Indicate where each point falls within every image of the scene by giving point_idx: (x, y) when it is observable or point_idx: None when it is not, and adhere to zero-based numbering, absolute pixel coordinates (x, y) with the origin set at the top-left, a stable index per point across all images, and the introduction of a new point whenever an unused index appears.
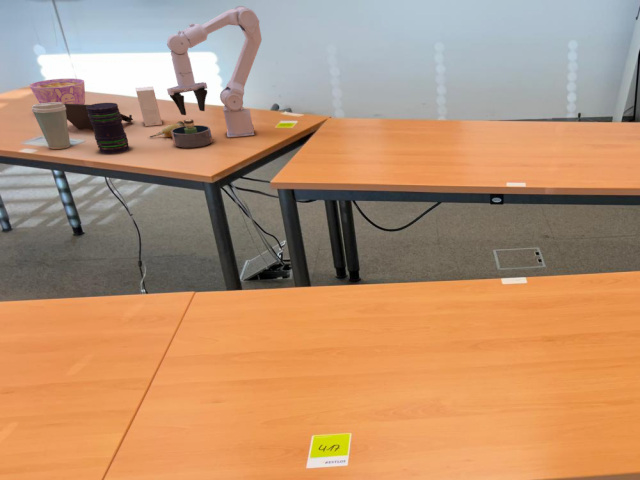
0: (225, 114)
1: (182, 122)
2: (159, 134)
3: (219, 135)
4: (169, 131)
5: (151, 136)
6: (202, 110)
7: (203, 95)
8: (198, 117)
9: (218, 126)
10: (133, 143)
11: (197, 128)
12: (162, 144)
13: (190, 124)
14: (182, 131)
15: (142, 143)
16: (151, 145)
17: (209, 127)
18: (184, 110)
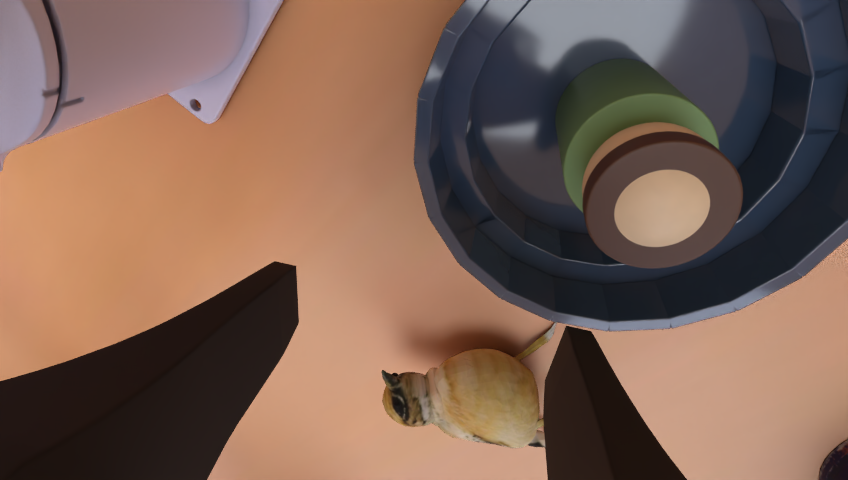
0: (96, 33)
1: (399, 402)
2: (540, 432)
3: (294, 122)
4: (533, 394)
5: None
6: (292, 281)
7: (83, 399)
8: None
9: (173, 291)
10: (716, 466)
11: (454, 212)
12: None
13: (698, 136)
14: (561, 286)
15: (703, 429)
16: (744, 364)
17: (449, 23)
18: (598, 372)
